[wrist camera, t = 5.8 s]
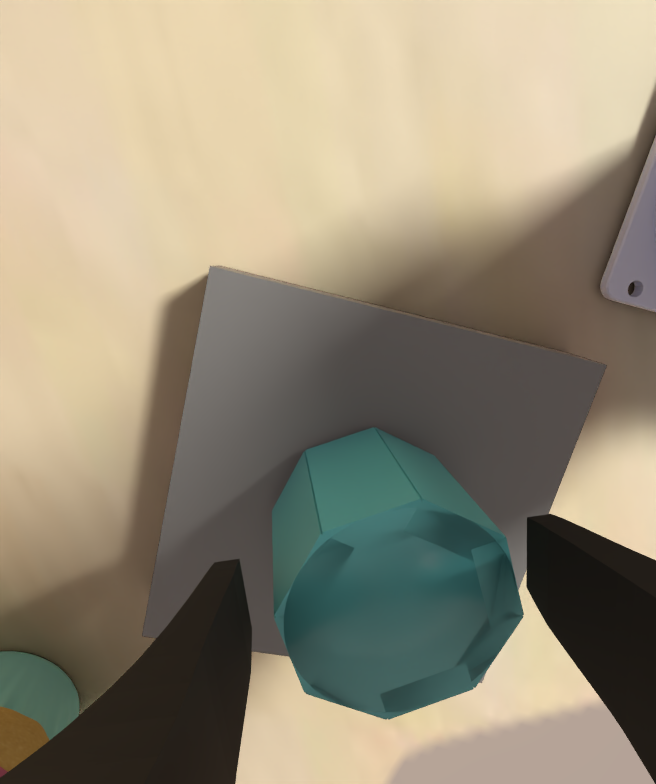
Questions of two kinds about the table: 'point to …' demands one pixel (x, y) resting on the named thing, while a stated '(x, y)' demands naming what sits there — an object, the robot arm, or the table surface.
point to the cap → (387, 577)
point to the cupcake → (31, 705)
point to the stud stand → (349, 423)
